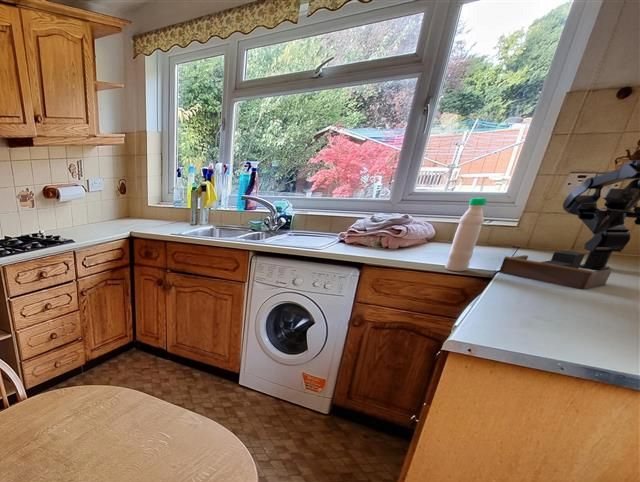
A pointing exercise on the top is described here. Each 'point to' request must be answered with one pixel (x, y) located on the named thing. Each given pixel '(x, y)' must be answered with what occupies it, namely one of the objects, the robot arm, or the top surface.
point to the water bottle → (466, 236)
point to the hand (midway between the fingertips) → (594, 233)
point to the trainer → (566, 259)
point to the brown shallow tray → (554, 273)
